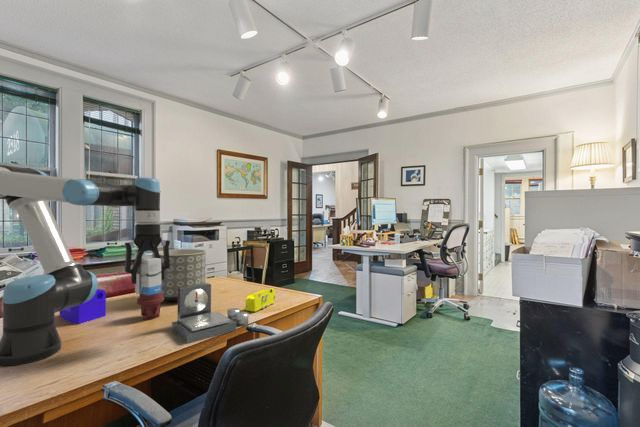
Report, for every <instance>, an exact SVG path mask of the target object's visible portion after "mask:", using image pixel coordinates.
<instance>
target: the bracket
mask: <svg viewBox="0 0 640 427" xmlns="http://www.w3.org/2000/svg"><path fill="white" fill-rule="evenodd" d="M106 299H107V293H106V291H105V290H104V289H102V288H97V290H96V293H95V295H94V297H93V298H92V299H90V300H89V301H87V302H85V303H83V304H81V305H79V306H74V307H71V308H68V309H65V310H62V311H59V318H61V319H63V320H65V321H66V322H68V323H70V324H73V323H75V325H82V324H85V323H88V322H91V321H93V320H98V319H99V318H103V317H106V316H107V310H106V309H107V302H106V301H107V300H106ZM87 321H88V322H87ZM84 322H85V323H84ZM81 323H82V324H81Z"/></svg>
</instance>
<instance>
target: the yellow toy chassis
mask: <svg viewBox="0 0 640 427" xmlns="http://www.w3.org/2000/svg"><path fill="white" fill-rule="evenodd" d="M275 303H276V290H275V288H274V287H271V288H268V289H265V288H263V289H261V290H259V291H256V292H253V293H251V294H248V295H247V296H246V298H245V311H248V312H254V313H255V312H258V311H259V310H261V309H262V310H264V309H265V308H268V307H269V306H271V305H272V304H275Z"/></svg>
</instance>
